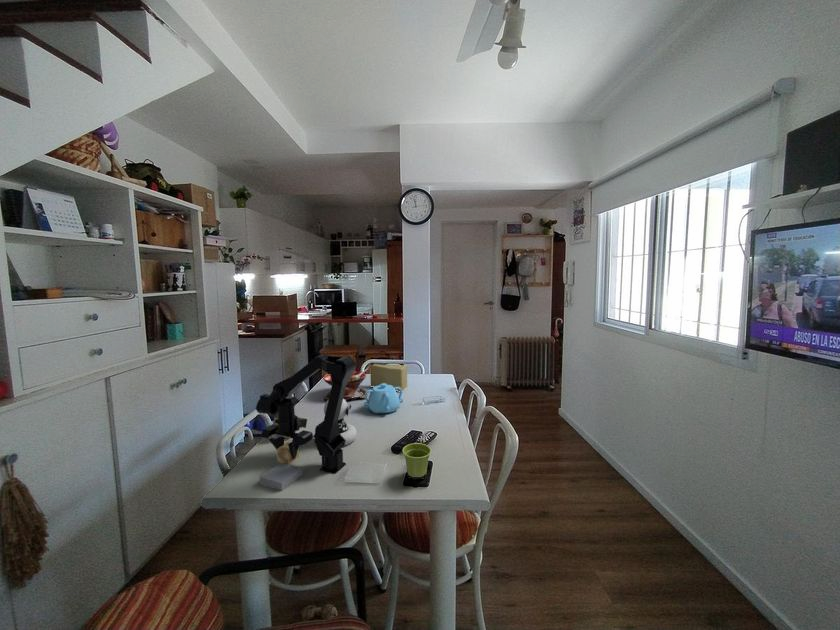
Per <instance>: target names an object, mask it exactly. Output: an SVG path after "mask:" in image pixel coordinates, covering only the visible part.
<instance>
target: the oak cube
mask: <svg viewBox="0 0 840 630" xmlns="http://www.w3.org/2000/svg"><path fill="white" fill-rule="evenodd" d="M289 443H290V442H286V443H284V445H282V446H281V447H279V448H277V450H276V454H277V455H276V459H277V463H279V464H280V463H286V464H290V465H291V464H292V463H293V462H295V461H296V460H298V459H299V457H300V455H299V451H298V452H297V455H296V458H295V459H292V457H291V453H290V450H289V446H288V444H289Z"/></svg>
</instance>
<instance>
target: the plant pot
mask: <svg viewBox="0 0 840 630" xmlns="http://www.w3.org/2000/svg"><path fill="white" fill-rule="evenodd" d="M431 453H432V449H431V447H430V446H429V445H427V444H424V443H419V442H415V443H409V444H407V445H405V446H404V447H403V448H402V454H403V455H404V458H405V465H406V473H408V474H407V476H408V475H409V476H411V477H422V476H424V475H425V474H426V475H427V471H428V470H427V469H428V464H429V459H430V455H431Z"/></svg>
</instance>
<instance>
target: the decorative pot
mask: <svg viewBox="0 0 840 630" xmlns="http://www.w3.org/2000/svg"><path fill="white" fill-rule="evenodd" d="M395 389H399V390H400V392H399V394H398V392H396V390H395ZM367 393H369V395H368V394H367ZM402 395H403V392H402V389H401V388H400V387H395V388H394V387H393V386H392V385H387V384H386V383H382V384H380V385H379V386H374V387H373V388H372V387H371V389H367V390H366V392H365V394H364V396H365V398H364V399H365V402H364V403H363V406H364V408H369V409H370V411H371V412H372V413H375V414H378V413H380V414H388V413H393V412H396V411H397V410H398V409H399V407H400V404H403V402H404V398H402ZM367 397H368V398H367Z"/></svg>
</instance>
